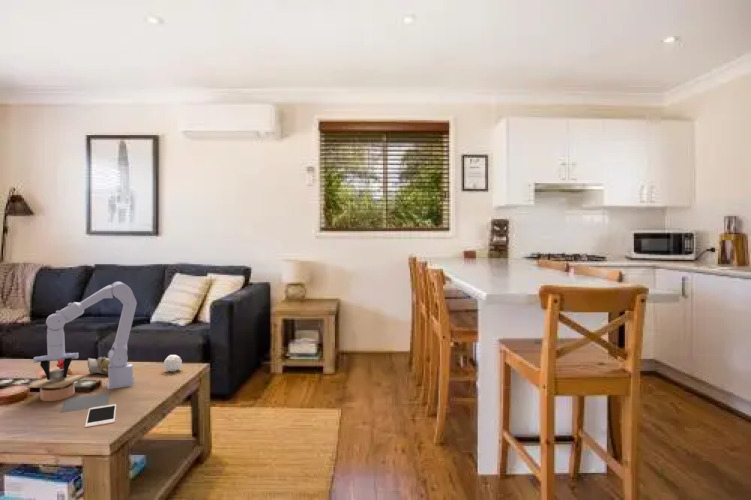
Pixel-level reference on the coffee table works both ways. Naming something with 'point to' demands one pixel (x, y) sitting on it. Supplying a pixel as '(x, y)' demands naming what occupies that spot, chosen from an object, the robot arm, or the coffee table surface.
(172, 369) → the geometric ball
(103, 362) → the ceramic sculpture
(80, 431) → the coffee table surface
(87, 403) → the rubber mat
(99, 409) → the cell phone
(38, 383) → the oak lid
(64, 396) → the terracotta bowl
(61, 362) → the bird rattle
